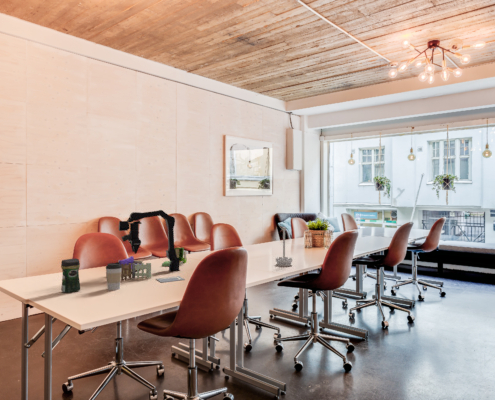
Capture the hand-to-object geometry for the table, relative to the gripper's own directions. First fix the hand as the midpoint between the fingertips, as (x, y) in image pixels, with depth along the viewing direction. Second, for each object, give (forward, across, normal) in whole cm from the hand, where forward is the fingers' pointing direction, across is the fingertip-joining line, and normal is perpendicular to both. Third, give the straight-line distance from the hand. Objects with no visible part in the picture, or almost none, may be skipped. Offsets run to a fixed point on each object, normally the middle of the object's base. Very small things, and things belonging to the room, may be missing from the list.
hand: (134, 252), depth 268 cm
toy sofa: (+15, -7, -2) cm, 17 cm away
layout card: (+15, +28, +18) cm, 37 cm away
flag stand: (+15, +14, +112) cm, 114 cm away
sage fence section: (+14, +16, +2) cm, 22 cm away
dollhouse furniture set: (+15, -27, +36) cm, 48 cm away
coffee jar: (+15, +34, -41) cm, 55 cm away
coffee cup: (+15, +38, -18) cm, 44 cm away
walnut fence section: (+15, +15, -10) cm, 23 cm away
